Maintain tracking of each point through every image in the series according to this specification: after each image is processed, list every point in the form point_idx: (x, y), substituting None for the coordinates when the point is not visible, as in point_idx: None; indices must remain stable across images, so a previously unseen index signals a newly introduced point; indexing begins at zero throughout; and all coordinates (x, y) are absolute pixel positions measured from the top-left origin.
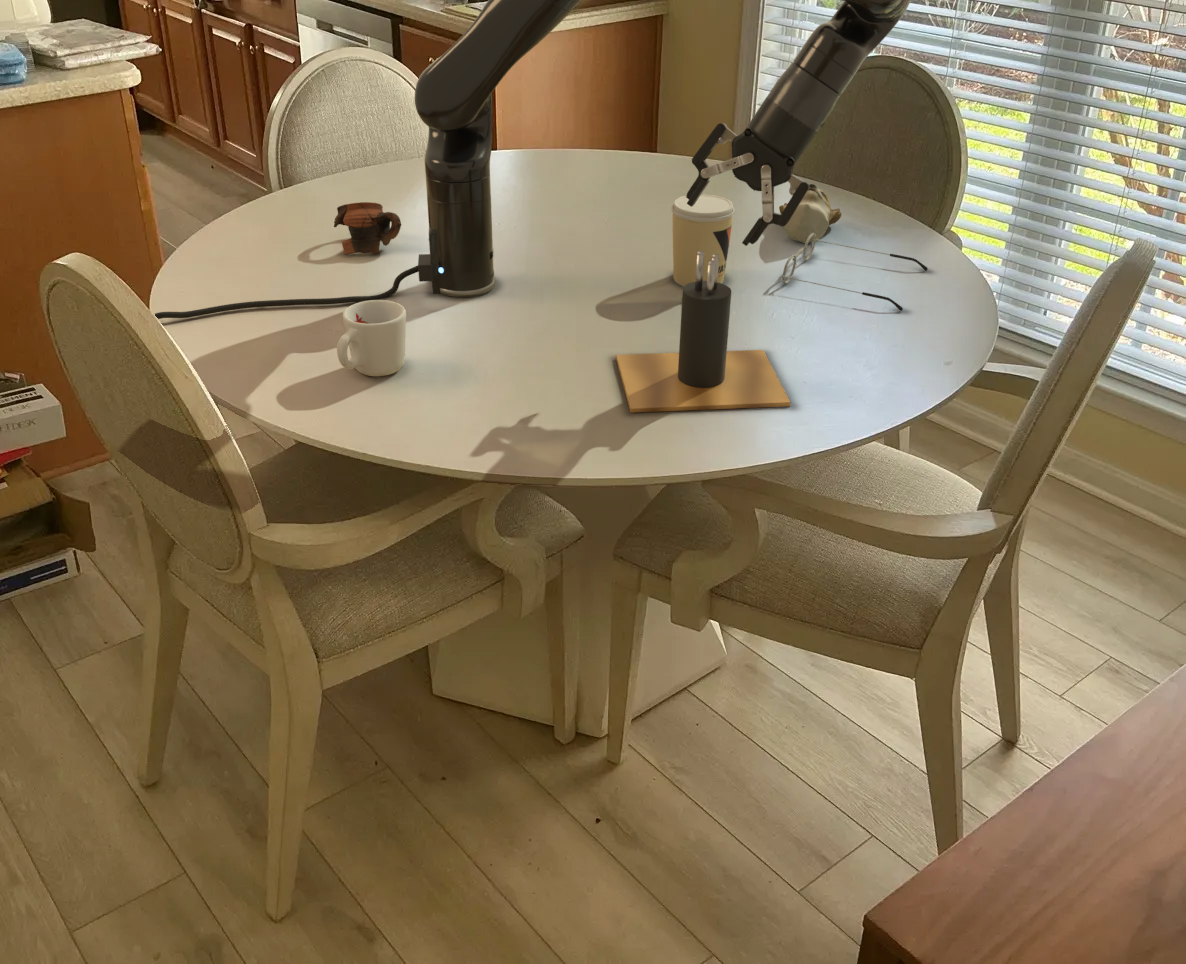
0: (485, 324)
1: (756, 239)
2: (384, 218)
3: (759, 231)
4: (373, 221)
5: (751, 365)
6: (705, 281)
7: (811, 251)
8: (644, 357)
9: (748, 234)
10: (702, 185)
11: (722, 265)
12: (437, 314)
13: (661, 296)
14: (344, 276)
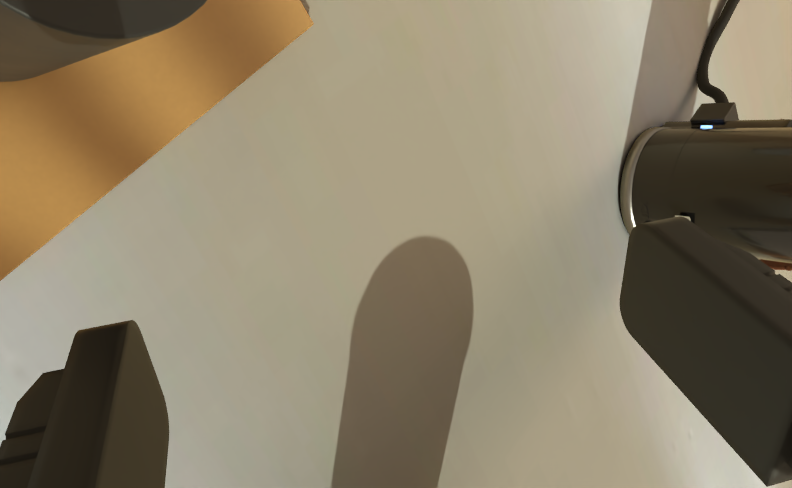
0: (575, 54)
1: (22, 418)
2: None
3: (22, 478)
4: (786, 263)
5: None
6: (171, 13)
7: None
8: (242, 46)
9: (109, 370)
10: (787, 318)
11: None
12: (636, 50)
13: (391, 437)
14: (745, 107)
